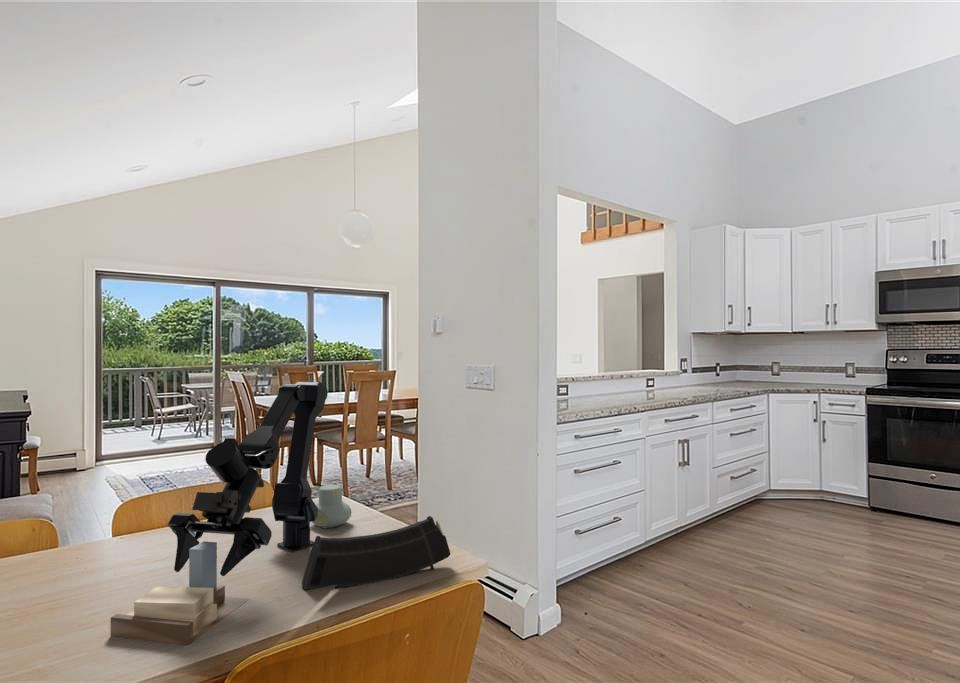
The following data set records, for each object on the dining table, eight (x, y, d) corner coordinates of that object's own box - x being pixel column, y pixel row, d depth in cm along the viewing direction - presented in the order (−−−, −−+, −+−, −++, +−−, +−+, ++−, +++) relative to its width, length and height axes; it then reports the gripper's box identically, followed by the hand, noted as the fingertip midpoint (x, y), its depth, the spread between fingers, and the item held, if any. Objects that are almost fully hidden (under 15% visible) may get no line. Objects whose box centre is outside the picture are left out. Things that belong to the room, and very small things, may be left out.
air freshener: (356, 523, 153) (356, 486, 153) (333, 532, 146) (333, 493, 146) (327, 517, 159) (327, 481, 159) (303, 525, 152) (304, 487, 152)
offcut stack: (156, 611, 100) (157, 582, 100) (218, 617, 98) (218, 588, 98) (123, 632, 93) (123, 601, 93) (188, 639, 91) (189, 607, 91)
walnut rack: (182, 597, 108) (182, 576, 108) (249, 604, 105) (249, 582, 105) (110, 642, 92) (110, 617, 92) (187, 651, 89) (188, 625, 89)
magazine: (291, 551, 108) (432, 487, 121) (288, 545, 111) (426, 484, 124) (317, 632, 110) (453, 561, 123) (314, 625, 113) (447, 556, 126)
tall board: (203, 598, 106) (204, 541, 106) (216, 599, 105) (216, 542, 105) (189, 608, 102) (189, 548, 102) (202, 609, 101) (202, 549, 101)
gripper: (174, 470, 109) (128, 548, 98) (263, 475, 106) (226, 556, 95) (201, 501, 117) (161, 576, 106) (285, 506, 114) (253, 584, 103)
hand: (198, 573), depth 102 cm, fingers open, 9 cm apart
